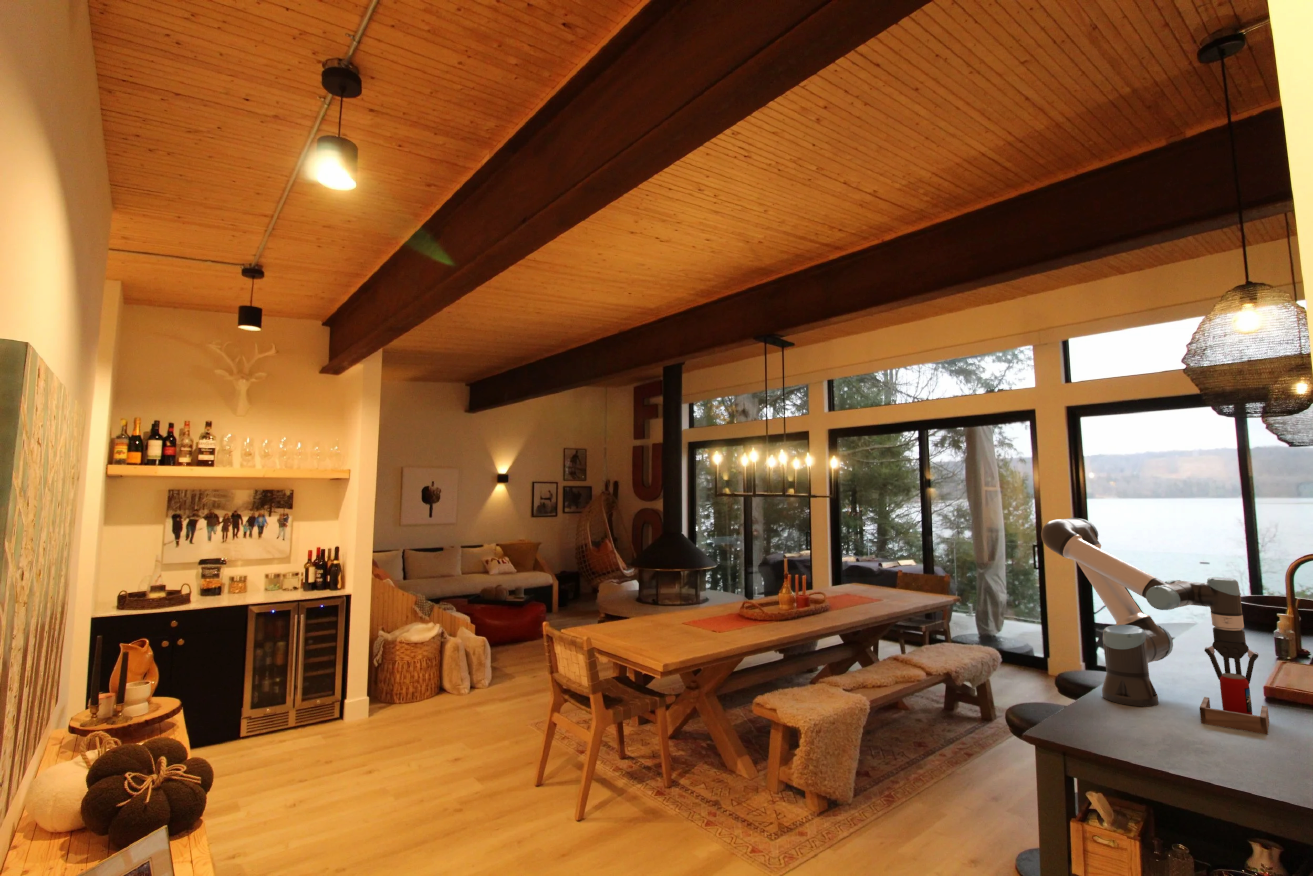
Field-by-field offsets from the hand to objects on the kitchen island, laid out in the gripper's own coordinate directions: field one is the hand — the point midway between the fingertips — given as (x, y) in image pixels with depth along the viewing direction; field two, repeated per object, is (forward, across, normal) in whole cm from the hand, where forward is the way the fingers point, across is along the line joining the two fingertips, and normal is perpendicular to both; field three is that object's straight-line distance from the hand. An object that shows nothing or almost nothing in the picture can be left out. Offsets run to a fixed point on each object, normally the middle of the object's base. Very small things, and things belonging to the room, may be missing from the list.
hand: (1237, 705), depth 199 cm
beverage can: (+2, 0, -5) cm, 5 cm away
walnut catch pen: (+2, 0, -12) cm, 12 cm away
